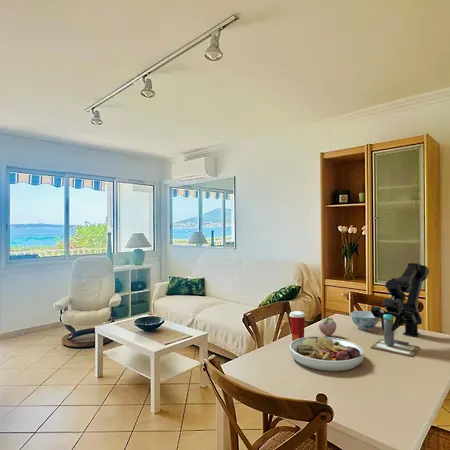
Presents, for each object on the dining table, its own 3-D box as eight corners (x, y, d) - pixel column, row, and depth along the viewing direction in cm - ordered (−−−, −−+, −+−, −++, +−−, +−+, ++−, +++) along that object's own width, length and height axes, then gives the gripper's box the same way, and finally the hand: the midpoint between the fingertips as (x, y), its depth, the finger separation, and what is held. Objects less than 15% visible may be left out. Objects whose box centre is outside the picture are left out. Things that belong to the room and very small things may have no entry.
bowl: (276, 361, 138) (275, 342, 139) (310, 342, 160) (310, 326, 161) (346, 382, 118) (345, 360, 118) (375, 357, 140) (374, 339, 140)
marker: (383, 341, 154) (382, 313, 153) (393, 342, 152) (392, 314, 152) (384, 344, 150) (383, 316, 149) (395, 345, 148) (394, 317, 148)
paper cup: (304, 338, 165) (304, 310, 165) (307, 344, 157) (306, 314, 158) (289, 338, 166) (288, 310, 166) (290, 343, 158) (289, 314, 158)
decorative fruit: (322, 332, 174) (322, 313, 175) (338, 335, 170) (337, 315, 170) (316, 337, 167) (315, 317, 167) (332, 340, 162) (331, 320, 162)
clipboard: (380, 340, 161) (380, 337, 161) (419, 347, 149) (419, 344, 149) (370, 348, 150) (370, 344, 150) (412, 357, 139) (412, 353, 139)
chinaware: (380, 325, 185) (379, 312, 185) (380, 333, 171) (380, 318, 171) (351, 323, 191) (351, 310, 191) (349, 330, 177) (349, 316, 177)
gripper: (371, 289, 161) (361, 316, 153) (412, 294, 147) (403, 324, 139) (379, 303, 166) (369, 329, 158) (419, 309, 152) (411, 338, 144)
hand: (387, 330), depth 150 cm, fingers closed on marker, 4 cm apart
